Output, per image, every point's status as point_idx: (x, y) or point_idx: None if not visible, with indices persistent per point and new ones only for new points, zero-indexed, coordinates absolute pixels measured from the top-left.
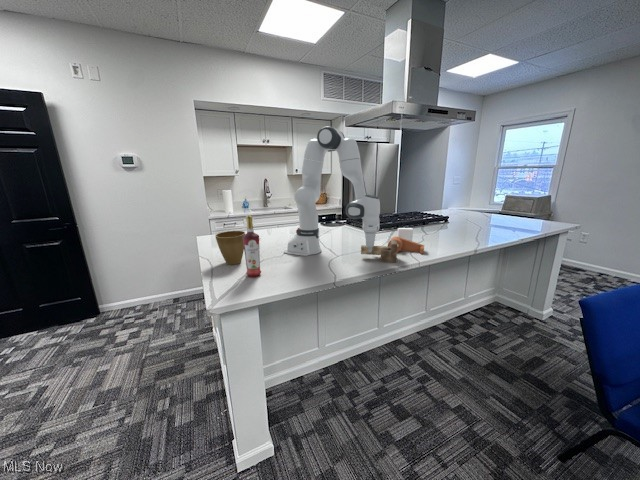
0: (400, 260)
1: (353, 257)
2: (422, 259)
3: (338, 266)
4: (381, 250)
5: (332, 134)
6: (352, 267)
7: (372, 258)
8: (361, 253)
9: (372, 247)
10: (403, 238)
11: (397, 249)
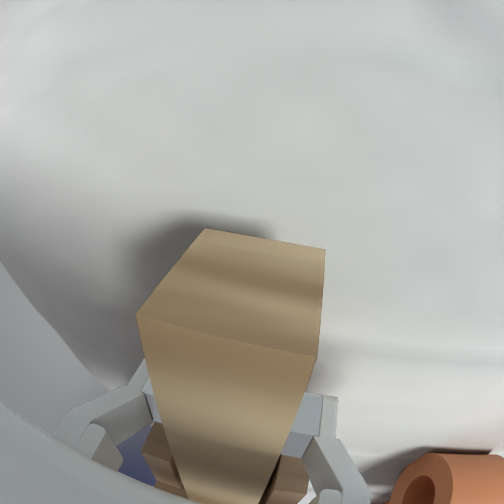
0: None
1: (300, 87)
2: None
3: (8, 3)
4: (152, 457)
5: None
6: (2, 120)
7: None
8: (201, 242)
9: (174, 447)
10: None
11: (404, 486)
